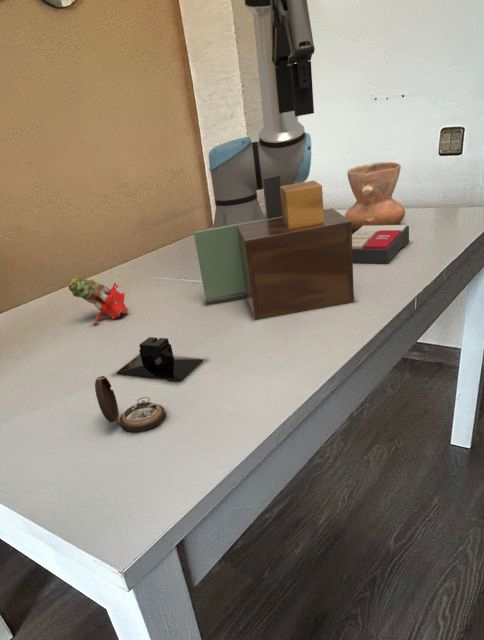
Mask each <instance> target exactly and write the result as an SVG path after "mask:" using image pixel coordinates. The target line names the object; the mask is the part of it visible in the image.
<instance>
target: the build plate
mask: <svg viewBox="0 0 484 640" xmlns="http://www.w3.org/2000/svg"><path fill="white" fill-rule="evenodd" d="M138 346H139V349H138V352H139V354H138V355H137V356H136V357H134V358H132V360H130V361H129V362H127V364H125V365H124V366H122V367H121V368H119V370H117V371H116V375H118V376H127V377H133V378H135V377H137V378H143V379H144V378H145V379H154V380H161V381H167V382H170V383H171V382H172V383H180V382H182V381H184V380H185V379H186V378H187V377H188V376H190V374H191V373H193V372H194V371H195V370H196V369H197V368H198V367H199V366H200V365H201V364H203V362H204V359H203V358H194V357H182V356H174V353H173V348H172V344H171V343H170V341H169V338H167V337H159V338H158V337H152V336H149V337H148V338H146V339H145V340H144V341H142V342H141V343H139V345H138Z"/></svg>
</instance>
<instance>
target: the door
mask: <svg viewBox="0 0 484 640" xmlns="http://www.w3.org/2000/svg"><path fill="white" fill-rule="evenodd" d="M262 179H263V189H262V190H263V197H264V207H265V215H266V217H265V219H261V220H255V221H250V222H244V223H239V224H233V225H228V226H222V227H216V228H213V227H212V228H208V229H207V228H206V229H200V230H195V231H193V237H194V243H195V247H196V248H195V249H196V253H197V258H198V259H197V260H198V265H199V270H200V276H201V282H202V287H203V294H204V298H205V300H206V299H209V298H214V297H220V296H225V295H231V294H236V293H242V292H246V288H245V281H244V274H243V266H242V259H241V252H240V244H239V237H238V230H237V226H238V225H244V224H249V223H255V222H260V221H266V220H272V219H277V218H283V217H282V206H281V195H280V186H281V182H280V176H279V175H273V176H268V177H263V178H262Z"/></svg>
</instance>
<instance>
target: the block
mask: <svg viewBox="0 0 484 640" xmlns="http://www.w3.org/2000/svg"><path fill="white" fill-rule="evenodd" d="M280 195H281V206H282V217H283V223H284V224H285V225H286V226H287V227H288V228H289V229H294V228H300V227H305V226H311V225H317V224H322V223H324V212H323V210H324V196H323V195H324V194H323V185H322V184H320V183H319V182H317V181H315V180H307V181H304V182H302V183H297V184H291V185H286V186H280Z"/></svg>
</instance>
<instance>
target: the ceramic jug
mask: <svg viewBox="0 0 484 640" xmlns="http://www.w3.org/2000/svg"><path fill="white" fill-rule="evenodd" d="M401 168H402V165H401V163H398V162H393V161H379V162H372V163H365V164H362V165H357V166H354V167H351V168H350V169H348V170H347V180H348V183H349V186H350V189H351V191H352V194H353V196H354V199H355V200H356V201H355V203H354V204H353V205H352V206H351V207H350V208H349V209H348V210H347V211H346V213H345V214H344V217H346V218H347V219H349V220H350V221H351V225H352V231H354V232H356V231H358V230H359V229H360V228H361V227H362V226H374V225H399V224H400V223H401V222H402V221H403V220H404V218H405V216H406V210H405V207H404V206H403V205H402V204H401V203H400V202H398V201H396V200H395V199H393V198H392V196H393V194H394V191H395V189H396V186H397V183H398V180H399V177H400V173H401Z"/></svg>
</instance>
